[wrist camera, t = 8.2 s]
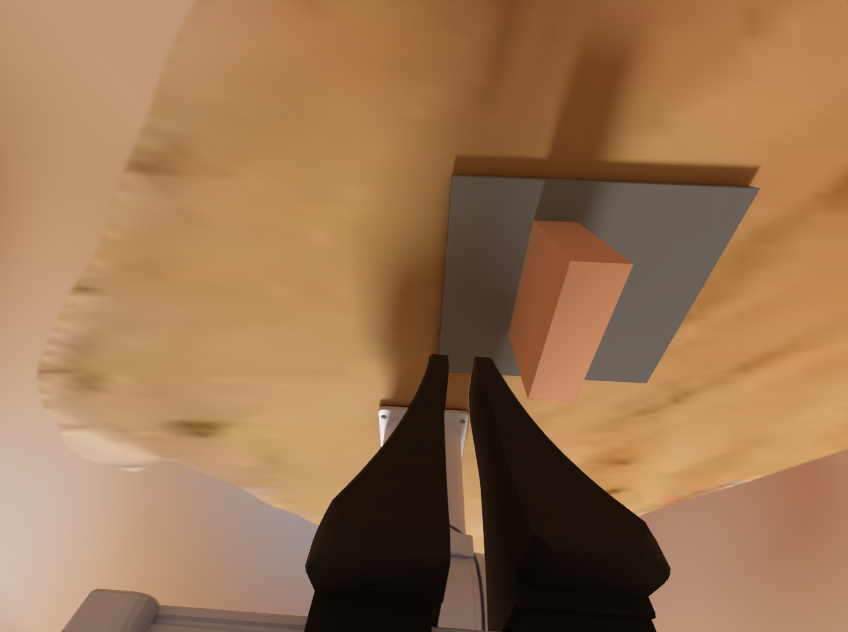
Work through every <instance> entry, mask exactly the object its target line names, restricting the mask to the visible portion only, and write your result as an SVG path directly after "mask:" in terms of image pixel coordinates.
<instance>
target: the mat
mask: <svg viewBox="0 0 848 632" xmlns="http://www.w3.org/2000/svg"><path fill="white" fill-rule="evenodd" d="M759 189H760V188H755V187H750V186H726V185H701V184H676V183H651V182H627V181H602V180H577V179H552V178H527V177H502V176H477V175H453V174H452V179H451V193H450V207H449V221H448V235H447V248H446V262H445V276H444V290H443V304H442V317H441V331H440V345H439V355H448V360H449V372H458V373H472V371H473V364H474V358H475V357H490V358H491V359H492V360H493V361H494V363H495V365H496V367H497V369H498V370H499V372H500V374H501V375H511V376H521V375H520V371H519V368H518V365H517V362H516V358H515V355H514V352H513V349H512V345H511V342H510V339H509V336H508V333H509V328H510V324H511V319H512V314H513V310H514V305H515V301H516V296H517V292H518V287H519V283H520V278H521V273H522V269H523V264H524V260H525V255H526V251H527V246H528V242H529V237H530V233H531V228H532V223H533V220H540V221H563V222H578V223H580V224H581V225H582V226H584V227H585V228H586V229H588V230H589V231H590V232H592V233H593V234H594V235H595V236H597V237H598V238H599V239H601V240H602V241H603V242H605V243H606V244H607V245H609V246H610V247H611V248H613V249H614V250H615V251H617V252H618V253H619V254H621V255H622V256H623V257H625V258H626V259H627V260H629V261H630V262H631V263H633V266H632V269H631V271H630V273H629V276H628V278H627V281H626V283H625V285H624V288H623V290H622V292H621V295H620V297H619V299H618V302H617V304H616V306H615V309H614V311H613V313H612V316H611V318H610V320H609V323H608V325H607V327H606V330H605V332H604V334H603V337H602V339H601V341H600V344H599V346H598V348H597V351H596V353H595V355H594V358H593V360H592V362H591V365H590V367H589V370H588V372H587V374H586V377H585V379H584V380H599V381H616V382H634V383H647V382H648V380H649V378H650V376H651V375H652V373H653V371H654V370H655V368H656V366H657V364H658V363H659V361H660V359H661V358H662V356H663V354H664V352H665V351H666V349H667V347H668V346H669V344H670V342H671V340H672V339H673V337H674V335H675V334H676V332H677V330H678V328H679V327H680V325H681V323H682V322H683V320H684V318H685V316H686V315H687V313H688V311H689V309H690V308H691V306H692V304H693V303H694V301H695V299H696V297H697V296H698V294H699V292H700V291H701V289H702V287H703V285H704V284H705V282H706V280H707V279H708V277H709V275H710V273H711V272H712V270H713V268H714V267H715V265H716V263H717V261H718V260H719V258H720V256H721V255H722V253H723V251H724V249H725V248H726V246H727V244H728V242H729V241H730V239H731V237H732V236H733V234H734V232H735V230H736V229H737V227H738V225H739V224H740V222H741V220H742V218H743V217H744V215H745V213H746V212H747V210H748V208H749V206H750V205H751V203H752V201H753V200H754V198H755V196H756V194H757V193H758V191H759Z"/></svg>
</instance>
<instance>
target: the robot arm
mask: <svg viewBox="0 0 848 632" xmlns="http://www.w3.org/2000/svg"><path fill="white" fill-rule="evenodd" d="M448 373H449V360H448V355H437V354H432V355H431V356H429V362H428V366H427V369H426V372H425V375H424V377H423V380H422V382H421V384H420V386H419V388H418V391H417V393H416V395H415V397H414V398H413V400H412V402H411V404H410V406H409V407H391V406H382V407H380V408H379V411H378V416H379V429H380V442H381V448H380V450H379V451H378V452H377V453H376V454H375V456H374V457H373V458H372V459H371V460H370V461H369V462H368V464H367V465H366V466H365V467H364V468H363V469H362V470H361V472H360V473H359V474H358V475H357V476H356V477H355V478H354V479H353V480H352V481H351V482H350V483H349V484H348V485H347V486H346V487H345V488H344V489H343V490H342V491H341V492H340V493H339V494H338V495H337V496H336V497H335V498H334V499H333V500H332V502H331V504H330V505H329V507H328V509H327V511H326V513H325V515H324V517H323V519H322V521H321V523H320V525H319V527H318V530H317V532H316V534H315V537H314V539H313V542H312V545H311V549H310V552H309V555H308V558H307V562H306V565H305V567H306V573H307V575H308V577H309V579H310V581H311V584H312V585H313V588H314V590H315V593H314V596H313V600H312V604H311V607H310V611H309V615H308V617H305V616H291V615H279V614H267V613H254V612H241V611H228V610H215V609H203V608H190V607H177V606H165V605H164V606H163V605H160V604H159V602H158V601H157V600H156V599H155V598H154V597H152V596H150V595H147V594H144V593H140V592H132V591H120V590H119V591H118V590H107V589H96V590H93V591H92V592H90V594H89V595H88V597H87V598H86V599H85V601H84V602H83V603H82V605H81V606H80V607H79V609H78V610H77V611H76V613H75V614H74V615H73V617H72V618H71V620H70V621H69V622H68V624H67V625H66V626H65V627H64V629H63V630H62V631H61V632H656V629H655V627H654V624H653V622H652V620H651V619H654V618H656V616H655V611H654V609H653V607H652V604H651V602H650V600H649V597H648V596H650V595H651V594H652V593H653V592H655V591H656V590H657V589H658V588H659V587H660V586H662V585H663V584H664V583H665V582H666V581H667V580H668V578H669V575H670V566H669V564H668V563H667V561H666V559H665V557H664V555H663V553H662V551H661V549H660V547H659V545H658V543H657V541H656V539H655V538H654V536H653V534H652V533H651V531H650V530H649V528H648V526H647V524H646V523H645V522H644V521H643V520H642V519H640V518H639V517H638V516H637V515H635V514H634V513H633V512H631V511H630V510H629V509H627V508H626V507H625V506H624V505H622V504H621V503H620V502H618V501H617V500H616V499H614V498H613V497H612V496H610V495H609V494H608V493H607V492H606V491H604V490H603V489H602V488H601V487H600V486H598V485H597V484H596V483H595V482H594V481H593V480H591V479H590V478H589V477H588V476H587V475H586V474H585V473H583V472H582V471H581V470H580V469H579V468H578V467H577V466H576V465H575V464H574V463H573V462H572V461H571V460H570V459H569V458H567V457H566V456H565V455H564V454H563V453H562V452H561V451H560V450H559V449H558V448H557V447H556V445H555V444H554V443H553V442H552V441H551V440H550V439H549V438H548V437H547V436H546V435H545V434H544V432H543V431H542V430H541V429H540V428H539V427H538V425H537V424H536V423H535V422H534V421H533V419H532V418H531V417H530V416H529V414H528V413H527V412H526V410H525V409H524V408H523V406H522V405H521V404H520V402H519V401H518V400H517V398H516V397H515V395H514V394H513V392H512V391H511V389H510V388H509V386H508V385H507V383H506V382H505V380H504V379H503V377H502V375H501V374H500V372H499V370H498V369H497V367H496V365H495V363H494V361H493V360H492V359H491V358H490V357H475V358H474V364H473V371H472V377H471V384H470V390H469V408H470V421H471V427H472V434H473V440H474V446H475V452H476V458H477V464H478V471H479V478H480V487H481V501H482V516H483V533H484V551H485V558H484V557H483V555H482V554H480V553H474V551H473V537H472V536H471V535H466V531H465V514H464V496H463V478H462V455H463V449H464V443H465V437H466V430H467V424H468V418H469V417H468V413H467V412H466V411H458V410H445V404H446V394H447V383H448Z"/></svg>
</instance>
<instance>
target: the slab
mask: <svg viewBox="0 0 848 632" xmlns="http://www.w3.org/2000/svg"><path fill="white" fill-rule="evenodd" d="M632 266H633V263H631V262H630V261H629V260H627V259H626V258H625V257H623V256H622V255H621V254H619V253H618V252H617V251H615V250H614V249H613V248H611V247H610V246H609V245H607V244H606V243H605V242H603V241H602V240H601V239H599V238H598V237H597V236H595V235H594V234H593V233H592V232H590V231H589V230H588V229H586V228H585V227H584V226H582V225H581V224H580V223H578V222H563V221H540V220H533V223H532V228H531V233H530V237H529V242H528V246H527V251H526V255H525V260H524V264H523V269H522V273H521V278H520V283H519V287H518V292H517V296H516V301H515V305H514V310H513V314H512V319H511V324H510V328H509V333H508V336H509V339H510V342H511V345H512V349H513V352H514V355H515V358H516V362H517V365H518V368H519V371H520V375H521V378H522V381H523V384H524V388H525V391H526V394H527V397H528V399H531V400H548V401H565V402H575V400H576V398H577V395H578V393H579V391H580V388H581V386H582V384H583V381H584V379H585V377H586V374H587V372H588V370H589V367H590V365H591V362H592V360H593V358H594V355H595V353H596V351H597V348H598V346H599V344H600V341H601V339H602V337H603V334H604V332H605V330H606V327H607V325H608V323H609V320H610V318H611V316H612V313H613V311H614V309H615V306H616V304H617V302H618V299H619V297H620V295H621V292H622V290H623V288H624V285H625V283H626V281H627V278H628V276H629V273H630V271H631V269H632Z"/></svg>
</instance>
